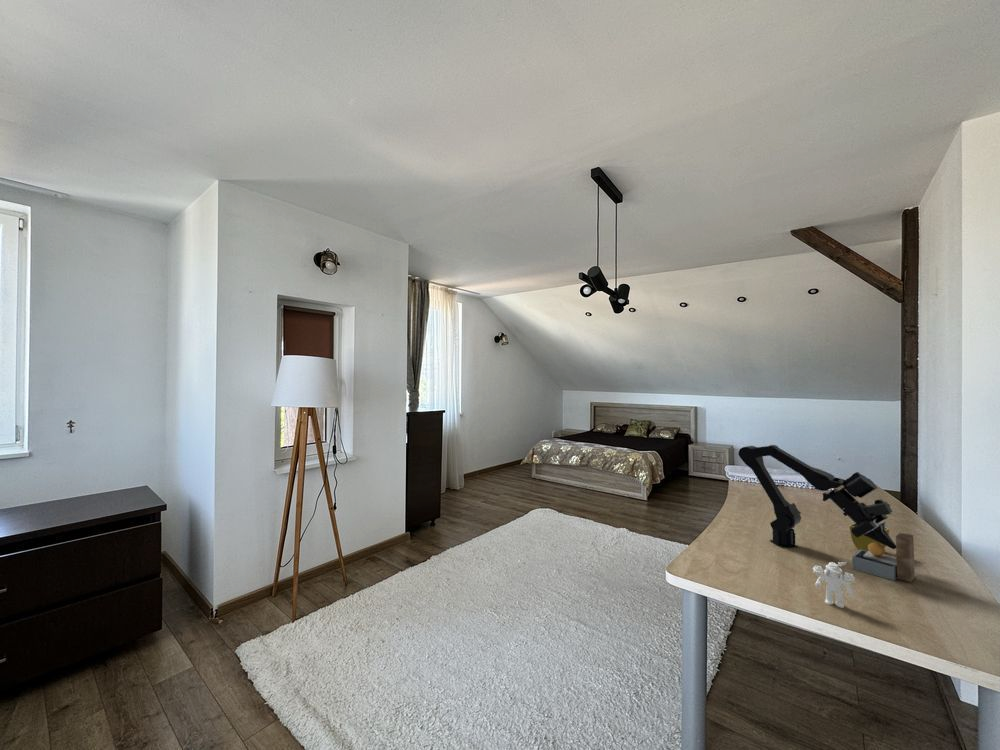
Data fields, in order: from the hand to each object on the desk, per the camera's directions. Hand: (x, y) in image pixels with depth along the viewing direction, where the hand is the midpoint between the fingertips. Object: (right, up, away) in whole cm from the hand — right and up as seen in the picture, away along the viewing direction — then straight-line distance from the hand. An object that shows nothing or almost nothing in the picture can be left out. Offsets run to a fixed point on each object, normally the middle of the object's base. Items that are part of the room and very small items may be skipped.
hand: (895, 548), depth 126 cm
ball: (-3, -2, +4) cm, 5 cm away
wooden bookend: (-1, -8, +1) cm, 9 cm away
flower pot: (+9, -10, +19) cm, 23 cm away
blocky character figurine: (-34, -8, -17) cm, 39 cm away
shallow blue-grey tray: (-3, -9, +3) cm, 10 cm away
